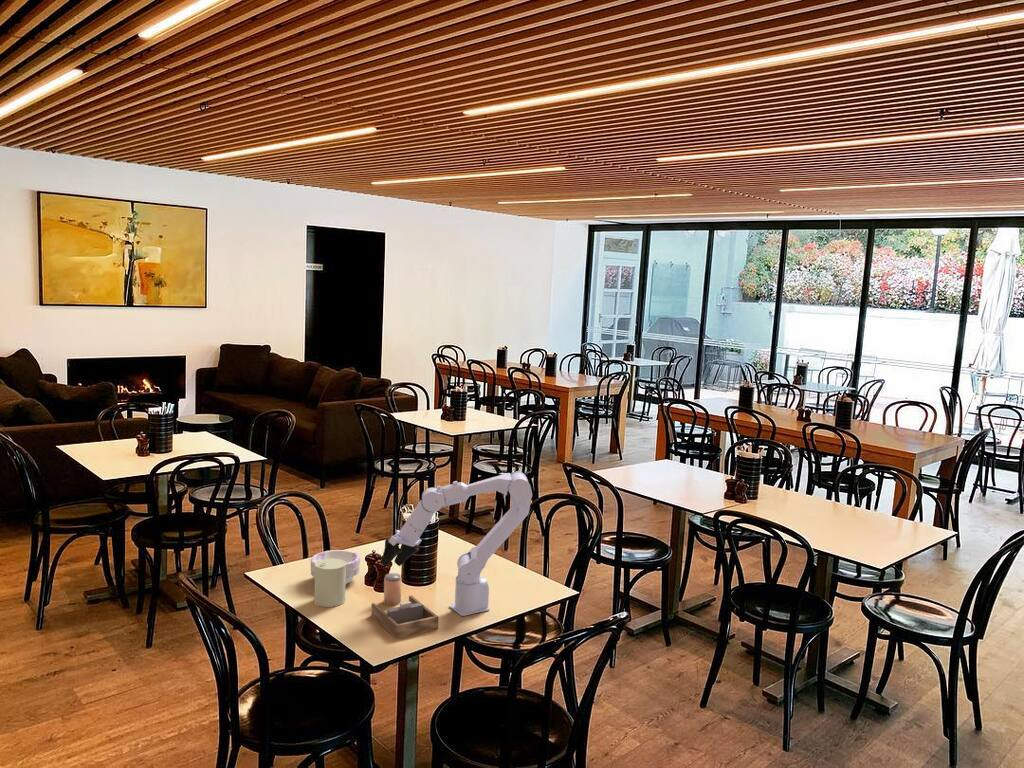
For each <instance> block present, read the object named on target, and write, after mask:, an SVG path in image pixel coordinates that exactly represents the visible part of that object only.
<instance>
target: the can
mask: <svg viewBox="0 0 1024 768" xmlns="http://www.w3.org/2000/svg"><path fill="white" fill-rule="evenodd" d="M345 578H346V562H345V561H344V560H341V559H336V558H328V559H322V560H319V561H317V562H316V563H315V577H314V597H313V598H314V599H313V602H314V604H315V605H316V606H319V607H323V608H333V607H334V606H335V607H339V606H341V605H344V603H345V602H346V600H347V599H346V584H345ZM338 605H339V606H338Z"/></svg>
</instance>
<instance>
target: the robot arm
mask: <svg viewBox="0 0 1024 768" xmlns="http://www.w3.org/2000/svg"><path fill="white" fill-rule="evenodd" d="M492 492H498V493H501V494H502V495H505V496H508V493H509V495H510V502H511V506H510V508H509V509H508V511H506V512H505V513H504V515H503V516H502V517H500V519H499V521H498V522H496V523H495V525H493V527H492V528H491V529H490V530H489V531H488V532H487V534H486V535H485V536H484V537H483V538H482V539H481V540H480V541H479V543H478V544H477V545H476V546H474V547H471V549H469V551H467V552H466V553H463V554H461V555H460V556H459V558H458V559H457V570H458V572H457V576H456V577H455V594H454V603H451V604H449V606H448V607H449V608H450V609H452V610H453V611H454V612H456V614H459V615H460V616H462V617H464V616H469V615H473V614H478V613H483V612H487V611H490V607H489V599H490V598H489V597H490V596H489V595H490V591H489V590H490V587H489V583H488V581H487V579H486V578H485V577H483V576H481V574H482V571H483V570H484V569H485V567H486V565H487V563H488V561H489V559H490V558H491V557H492V556H493V555H494V553H495V552H496V551H498V549H499V548H500V547H501V546H502V545H503V543H505V541H506V540H507V539H508V538H509V536H511V535H512V533H513V532H514V531H515V530H516V529H517V528H518V526H519V525H521V523H522V522H523V521H524V520H525V519H526V517H528V515H529V513H530V509H531V503H532V497H533V492H532V487H531V484H530V483H529V480H528V477H527V476H526V474H525V473H523V471H513V472H511V473H510V472H507V473H506V472H505V473H503V474H499V475H497V476H492V477H489V478H485V479H483V480H479V481H475V482H473V483H469V484H466V483H464V482H462V481H460V482H458V481H457V480H455V481H453V482H452V483H451V484H448V485H444V486H441V485H437V486H436V488H435V487H428V488H427V489H425V490H424V491H423V492H422V494H421V499H420V500H419V502H418V503H417V504H416V506H415V507H414V509H413V510H412V512H411V513H410V515H409V516H408V518H407V520H406V521H405V523H404V524H403V525H402V527H401V529H400V530H399V529H396V530H395V531H394V532H395V534H394V535H391V537H389V538H386V539H385V541H384V550H383V553H382V557H381V559H380V563H379V564H381V565H382V566H384V567H385V568H386V567H389V565H390V564H391V562H392V561H393V560H394V562H393V563H395V564H396V565H397V566H398V567H401V566H402V565H403V564H404V563H405V562H406V561H407V560H408V559H409V558H410V557H412V556H413V555H415V554H416V553H418V552H419V551H420V548H419V547H418V546H419V545H420V544H421V542H422V539H421V536H422V535H423V533H424V531H425V530H426V528H427V526H428V525H429V524H430V521H431V520H432V518H433V516H434V514H435V513H436V512H439V511H440V510H441V509H442V507H447V506H453V505H456V504H460V503H465V502H467V500H469V498H470V497H472V496H476V495H482V494H487V493H492Z"/></svg>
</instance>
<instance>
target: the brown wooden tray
mask: <svg viewBox="0 0 1024 768" xmlns="http://www.w3.org/2000/svg"><path fill="white" fill-rule="evenodd" d="M408 601H410V602H411V604H415V603H421V601H420V600H418V599H417V598H415V597H414V596H413V595H409V596H408ZM370 608H371V610H370V611H371V614H370V615H371V616H372V618H374V620H376V621H377V622H378V623H379V622H380V623H381V624H382V625H381V624H380V623H379V624H380V625H381V626H383V628H385V629H386V630H387V631H388V633H390V634H391V635H392V636H393V635H394V636H395V639H400V638H403V637H405V638H406V637H407V636H412V635H413V634H414V635H417V634H422V633H427V632H430V631H434V630H439V617H440V616H438V615H437V614H436V613H435V612H433V611H432V610H431V609H429V607H427V606H425V605H424V607H423V619H419V620H414V621H409V622H405V623H400V624H397V623H396V622H395V621H394V620H393V619H392V618H391V617H390V616H388V615H387V609H386V610H383V609H382V608H380V607H379V606H378V605H377V604H376V602H372V603H371V607H370ZM394 636H393V637H394Z"/></svg>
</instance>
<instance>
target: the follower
mask: <svg viewBox="0 0 1024 768" xmlns="http://www.w3.org/2000/svg"><path fill="white" fill-rule="evenodd" d="M424 606H425V604H423V603H422V602H420V603H415V604H411V602H410V601H409V600H408V601H404V602H401V603H400V604H399V606H397V607H392V608H387V609H386V610H387V615H388V616H390V617H391V618H392V619H393V620H394V621H395V622H396V623H397V624H400V623H405V622H409V621H414V620H419V619H423V607H424Z"/></svg>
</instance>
